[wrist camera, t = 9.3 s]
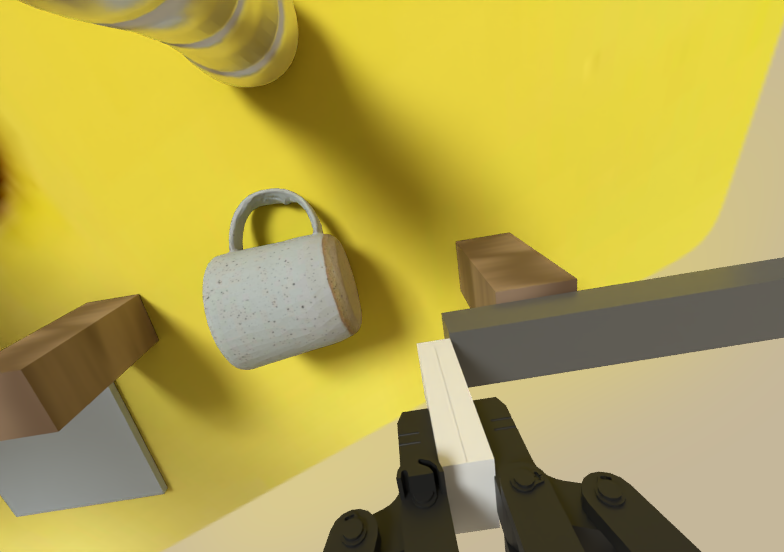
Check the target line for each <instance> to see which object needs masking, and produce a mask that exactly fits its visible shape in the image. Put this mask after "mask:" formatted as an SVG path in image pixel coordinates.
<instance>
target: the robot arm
mask: <svg viewBox="0 0 784 552" xmlns="http://www.w3.org/2000/svg"><path fill="white" fill-rule="evenodd" d="M417 349H418V355H419V362H420V368H421V375H422V381H423V387H424V394H425V399H426V405H427V409H421V410H415V411H408V412H402V414H401V416H400V418H399V421H398V423H397V425H398V439H399V453H400V468H399V469H398V472H397V477H396V479H397V484H398V489H399V495H398V496H397V498H396V499H395V500H394V501H393V502H392V504H390V505H389V506H387V507H386V508H384V509H383V510H381V511H379V512H377V513H375V514H373V515H372V514H371V513H370V512H368V511H365V510H362V509H356V510H351V511H348V512H347V513H344V514H343V515H342V516H340V518H338V519H337V520H336V521H335V523H334V525H333V527H332V529H331V531H330V534H329V536H328V539H327V542H326V545H325V548H324V551H323V552H459V550H458V546H457V541H456V536H455V534H459V533H466V532H473V531H480V530H487V529H493V528H499V527H500V525H499V519H500V523H501V525H502V529H503V532H504V538H505V551H506V552H701V551H700V550H699V549H698V548H697V547H696V546H695V545H694V544H692V542H691V541H689V540H688V539H687V538H686V537H685V536H684V535H683V534H682V533H681V532H680V531H679V530H678V529H677V528H676V527H675V526H674V525H673V524H671V523H670V522H669V521H668V520H667V519H666V518H665V517H664V516H663V515H662V514H661V513H660V512H659V511H658V510H657V509H656V508H655V507H654V506H652V505H651V504H650V503H649V502H648V501H647V500H646V499H645V498H644V497H643V496H642V495H641V494H640V493H639V492H638V491H637V490H635V489H634V488H633V487H632V486H631V485H630V484H629V483H627V482H626V481H625V480H623V479H622V478H621V477H618V476H616V475H613V474H611V473H605V472H595V473H590V474H589V475H587V476H586V477H585V478H584V479H583V481H582V483H575V482H568V481H562V480H558V479H555V478H552V477H550V476H548V475H546V474H545V473H544V472H543V471H542V470H541V469H539V468H538V467H536V465H535V463H534V462H533V460H532V458H531V456H530V454H529V452H528V450H527V448H526V446H525V444H524V442H523V440H522V438H521V436H520V434H519V431H518V429H517V428H516V426H515V423H514V421H513V419H512V418H511V415H510V413H509V411H508V409H507V407H506V405H505V404H503V403H502V402H501V401H500V400H499V399H497V398H496V397H493V398H487V399H480V400H472V397H471V394H470V392H469V389H468V386H467V384H466V381H465V378H464V375H463V373H462V370H461V367H460V365H459V362H458V359H457V356H456V354H455V351H454V348H453V345H452V343H451V340H450V338H449V339H443V340H436V341H430V342H424V343H417Z"/></svg>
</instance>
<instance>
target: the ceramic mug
mask: <svg viewBox="0 0 784 552" xmlns="http://www.w3.org/2000/svg"><path fill="white" fill-rule="evenodd" d="M291 202H297V203H299V204H300V205H301V206H302V207H303V208H304V209H305V210H306V212H307V214H308V216H309V219H310V221H311V223H312V227H313V234H312V235H307V236H302V237H297V238H294V239H290V240H287V241H283V242H278V243H273V244H268V245H263V246H259V247H253V248H249V249H244V250H243V243H242V240H243V231H244V225H245V222H246V220H247V218H248V216H249V214H250V213H251V212H252V211H253V210H254V209H256V208H258V207H259V206H264V205H270V204H275V203H283V204H285V205H288V204H290V203H291ZM229 249H230V252H229V253H227V254H223V255H220V256H217V257H214V258H213V259H212V260H211V261H210V262H209V264H208V266H207V268H206V270H205V274H204V278H203V302H204V308H205V314H206V318H207V323H208V326H209V328H210V331H211V334H212V336H213V339H214V341H215V343H216V345H217V347H218V348H219V350H220V351H221V353H222V354H223V355H224V357H225V358H226V359H227V360H228V361H229V362H230V363H231V364H232V365H233V366H235V367H236V368H239V369H243V370H250V369H254V368H257V367H261V366H264V365H267V364H269V363H273V362H276V361H280V360H283V359H286V358H289V357H292V356H296V355H299V354H302V353H305V352H308V351H311V350H314V349H318V348H321V347H325V346H328V345H332V344H334V343H337V342H340V341H342V340H344V339H346V338H348V337H350V336H352V335H354V334H355V333H356V332H357V331H358V330H359V328H360V326H361V324H362V312H361V306H360V301H359V296H358V292H357V288H356V284H355V280H354V276H353V273H352V270H351V267H350V264H349V261H348V258H347V256H346V253H345V251H344V248H343V246H342V244H341V243H340V241H339V240H338V239H337V238H336V237H334V236H332V235H330V234H323V231H322V225H321V223H320V220H319V218H318V217H317V215H316V213H315V211H314V209H313V208H312V207H311V206H310V204H309V203H308V202H307V201H306V200H305V199H304V198H302V197H301V196H299V195H298V194H296V193H294V192H292V191H289V190H286V189H279V188H274V189H266V190H260V191H258V192H255V193H253V194H251V195H249V196H248V197H246V198H245V199H244V200H243V201H242V202H241V203H240V205H239V206H238V208H237V209H236V211H235V213H234V216H233V218H232V221H231V226H230V233H229Z"/></svg>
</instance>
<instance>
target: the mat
mask: <svg viewBox="0 0 784 552" xmlns="http://www.w3.org/2000/svg"><path fill="white" fill-rule="evenodd" d="M166 490H167V486H166V484H165V482H164V480H163V478H162V476H161V474H160V472H159V470H158V468H157V466H156V464H155V462H154V460H153V458H152V456H151V454H150V452H149V451H148V449H147V447H146V445H145V443H144V441H143V439H142V437H141V435H140V433H139V431H138V429H137V427H136V425H135V423H134V421H133V419H132V417H131V415H130V413H129V411H128V409H127V408H126V406H125V404H124V402H123V400H122V398H121V396H120V394H119V392H118V390H117V388H116V386H115V384H114V382H113V383H112V384H111V385H109V386H108V387H107V388H106V389H105V390H104V391H103V392H102V393H101V394H100V395H98V396H97V397H96V398H95V399H94V400H93V401H92V402H91V403H90V404H89V405H87V406H86V407H85V408H84V409H83V410H82V411H81V412H80V413H79V414H78V415H77V416H75V417H74V418H73V419H72V420H71V421H70V422H69V423H68V424H67V425H66V426H64V427H63V428H62V429H61V430H60V431H59V432H55V433H48V434H42V435H36V436H29V437H23V438H17V439H11V440H4V441H0V495H1V497H2V498H3V499H4V501H5V502H6V503H7V505H8V506H9V507H10V509H11V510H12V512H13V513H14V514H15V516H16V517H19V516H25V515H32V514H38V513H44V512H51V511H57V510H64V509H70V508H77V507H83V506H89V505H96V504H102V503H109V502H115V501H122V500H128V499H134V498H141V497H147V496H154V495H160V494H164V493H165V492H166Z"/></svg>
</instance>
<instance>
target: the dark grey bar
mask: <svg viewBox="0 0 784 552" xmlns="http://www.w3.org/2000/svg"><path fill="white" fill-rule="evenodd" d="M441 314H442V322H443V330H444V337H445V339H449V338H450V340H451V343H452V345H453V348H454V351H455V354H456V356H457V359H458V362H459V365H460V367H461V370H462V373H463V375H464V378H465V381H466V384H467V386H468V388H469V387H475V386H481V385H488V384H494V383H500V382H506V381H513V380H519V379H525V378H532V377H538V376H544V375H551V374H557V373H563V372H569V371H576V370H582V369H589V368H595V367H601V366H608V365H614V364H620V363H625V362H633V361H639V360H645V359H651V358H658V357H664V356H671V355H677V354H682V353H689V352H696V351H702V350H708V349H714V348H721V347H727V346H734V345H740V344H746V343H753V342H759V341H765V340H771V339H778V338H784V257H783V258H777V259H771V260H765V261H759V262H753V263H747V264H741V265H735V266H729V267H722V268H716V269H710V270H704V271H697V272H691V273H685V274H679V275H673V276H667V277H661V278H654V279H648V280H642V281H636V282H630V283H624V284H618V285H611V286H605V287H599V288H593V289H587V290H581V291H575V292H568V293H562V294H556V295H550V296H544V297H538V298H532V299H525V300H519V301H513V302H507V303H501V304H495V305H489V306H482V307H476V308H470V309H464V310H458V311H452V312H446V313H441Z"/></svg>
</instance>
